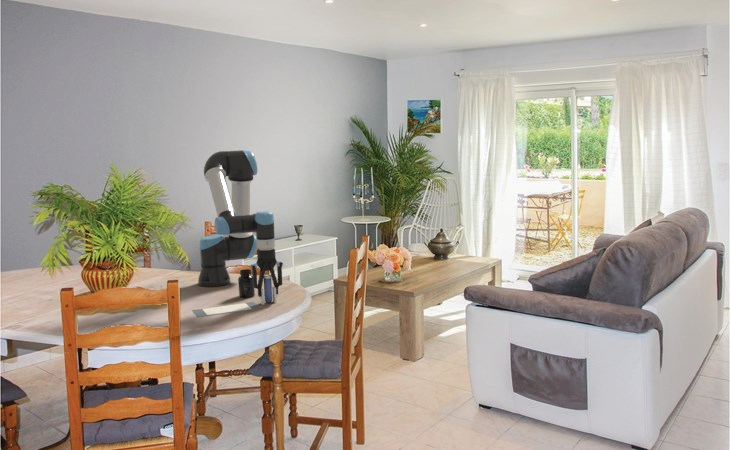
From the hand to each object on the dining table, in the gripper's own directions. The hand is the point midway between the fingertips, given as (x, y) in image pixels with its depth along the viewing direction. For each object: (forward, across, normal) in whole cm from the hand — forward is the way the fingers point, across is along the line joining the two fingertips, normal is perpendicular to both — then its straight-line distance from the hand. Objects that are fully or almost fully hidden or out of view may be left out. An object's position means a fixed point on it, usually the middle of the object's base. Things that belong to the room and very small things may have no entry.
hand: (268, 302), depth 267 cm
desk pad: (0, -18, -1) cm, 18 cm away
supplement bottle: (+1, -5, +16) cm, 17 cm away
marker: (0, 0, 0) cm, 0 cm away
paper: (0, -18, -1) cm, 18 cm away
